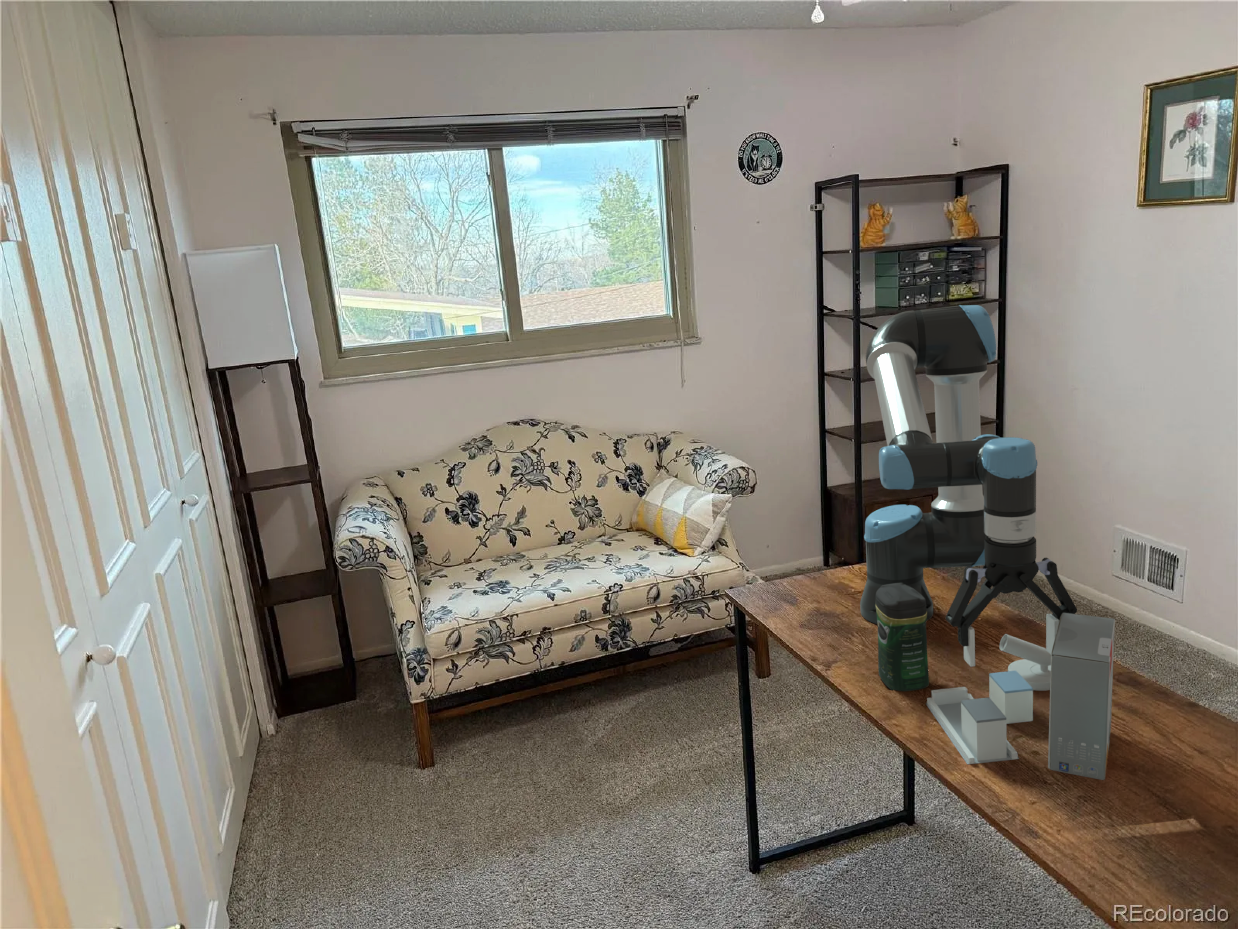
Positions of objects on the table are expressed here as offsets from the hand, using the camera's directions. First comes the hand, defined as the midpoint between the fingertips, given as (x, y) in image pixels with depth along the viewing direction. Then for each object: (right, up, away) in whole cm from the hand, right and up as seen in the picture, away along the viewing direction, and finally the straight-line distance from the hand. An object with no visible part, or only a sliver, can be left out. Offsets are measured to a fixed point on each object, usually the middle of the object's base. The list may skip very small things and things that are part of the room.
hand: (1011, 658), depth 139 cm
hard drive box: (+7, -13, -8) cm, 17 cm away
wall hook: (+9, -8, +13) cm, 17 cm away
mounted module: (-7, -13, -6) cm, 16 cm away
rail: (-7, -13, 0) cm, 14 cm away
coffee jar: (-12, -9, +18) cm, 23 cm away
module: (+1, -11, +3) cm, 11 cm away
